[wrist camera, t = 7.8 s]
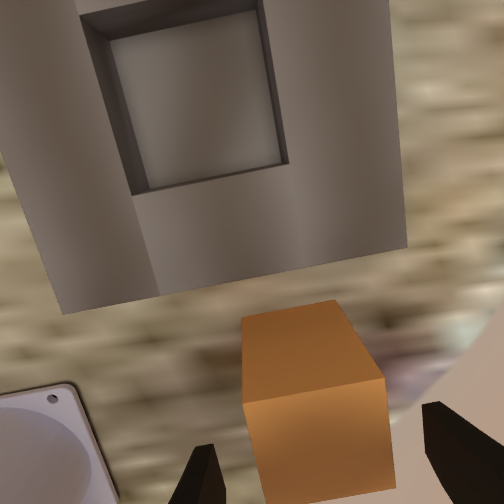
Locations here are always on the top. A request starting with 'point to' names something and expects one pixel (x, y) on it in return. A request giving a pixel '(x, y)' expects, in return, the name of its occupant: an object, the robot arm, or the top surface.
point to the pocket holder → (198, 139)
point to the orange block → (314, 406)
